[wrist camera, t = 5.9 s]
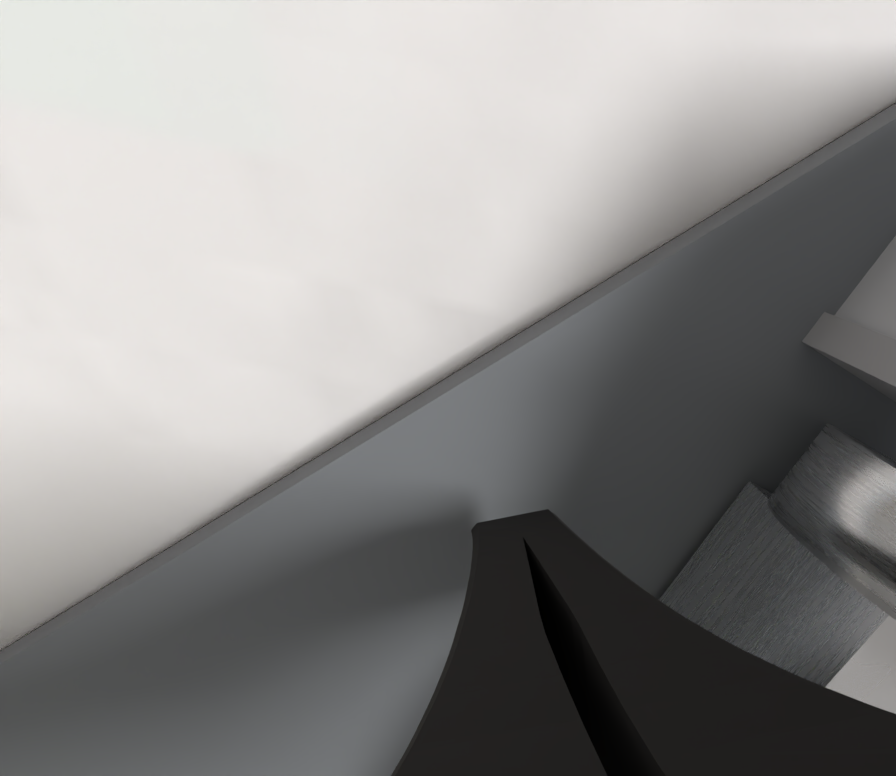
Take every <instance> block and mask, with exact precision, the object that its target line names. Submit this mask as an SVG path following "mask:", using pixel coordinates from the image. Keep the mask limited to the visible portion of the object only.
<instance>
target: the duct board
mask: <svg viewBox="0 0 896 776" xmlns="http://www.w3.org/2000/svg"><path fill="white" fill-rule="evenodd" d="M826 424H830V425H832V426H834V427H836V428H838V429H840V430H842V431H844V432H845V433H847V434H849V435H851V436H853V437H854V438H856V439H858V440H860V441H862V442H863V443H865V444H867V445H869V446H870V447H872V448H874V449H876V450H877V451H879V452H881V453H882V454H884V455H886V456H888V457H889V458H891V459H893V460H894V461H896V103H895V104H894V105H892V106H890V107H889V108H887V109H885V110H884V111H882V112H880V113H879V114H877V115H876V116H874V117H872V118H871V119H869V120H867V121H866V122H864V123H862V124H861V125H859V126H858V127H856V128H854V129H853V130H851V131H849V132H848V133H846V134H845V135H843V136H841V137H840V138H838V139H836V140H835V141H833V142H831V143H830V144H828V145H827V146H825V147H823V148H822V149H820V150H818V151H817V152H815V153H813V154H812V155H810V156H809V157H807V158H805V159H804V160H802V161H800V162H799V163H797V164H796V165H794V166H792V167H791V168H789V169H787V170H786V171H784V172H782V173H781V174H779V175H778V176H776V177H774V178H773V179H771V180H769V181H768V182H766V183H764V184H763V185H761V186H760V187H758V188H756V189H755V190H753V191H751V192H750V193H748V194H746V195H745V196H743V197H742V198H740V199H738V200H737V201H735V202H733V203H732V204H730V205H729V206H727V207H725V208H724V209H722V210H720V211H719V212H717V213H715V214H714V215H712V216H711V217H709V218H707V219H706V220H704V221H702V222H701V223H699V224H697V225H696V226H694V227H693V228H691V229H689V230H688V231H686V232H684V233H683V234H681V235H680V236H678V237H676V238H675V239H673V240H671V241H670V242H668V243H666V244H665V245H663V246H662V247H660V248H658V249H657V250H655V251H653V252H652V253H650V254H648V255H647V256H645V257H644V258H642V259H640V260H639V261H637V262H635V263H634V264H632V265H630V266H629V267H627V268H626V269H624V270H622V271H621V272H619V273H617V274H616V275H614V276H613V277H611V278H609V279H608V280H606V281H604V282H603V283H601V284H599V285H598V286H596V287H595V288H593V289H591V290H590V291H588V292H586V293H585V294H583V295H581V296H580V297H578V298H577V299H575V300H573V301H572V302H570V303H568V304H567V305H565V306H563V307H562V308H560V309H559V310H557V311H555V312H554V313H552V314H550V315H549V316H547V317H546V318H544V319H542V320H541V321H539V322H537V323H536V324H534V325H532V326H531V327H529V328H528V329H526V330H524V331H523V332H521V333H519V334H518V335H516V336H514V337H513V338H511V339H510V340H508V341H506V342H505V343H503V344H501V345H500V346H498V347H497V348H495V349H493V350H492V351H490V352H488V353H487V354H485V355H483V356H482V357H480V358H479V359H477V360H475V361H474V362H472V363H470V364H469V365H467V366H465V367H464V368H462V369H461V370H459V371H457V372H456V373H454V374H452V375H451V376H449V377H447V378H446V379H444V380H443V381H441V382H439V383H438V384H436V385H434V386H433V387H431V388H430V389H428V390H426V391H425V392H423V393H421V394H420V395H418V396H416V397H415V398H413V399H412V400H410V401H408V402H407V403H405V404H403V405H402V406H400V407H398V408H397V409H395V410H394V411H392V412H390V413H389V414H387V415H385V416H384V417H382V418H381V419H379V420H377V421H376V422H374V423H372V424H371V425H369V426H367V427H366V428H364V429H363V430H361V431H359V432H358V433H356V434H354V435H353V436H351V437H349V438H348V439H346V440H345V441H343V442H341V443H340V444H338V445H336V446H335V447H333V448H331V449H330V450H328V451H327V452H325V453H323V454H322V455H320V456H318V457H317V458H315V459H314V460H312V461H310V462H309V463H307V464H305V465H304V466H302V467H300V468H299V469H297V470H296V471H294V472H292V473H291V474H289V475H287V476H286V477H284V478H282V479H281V480H279V481H278V482H276V483H274V484H273V485H271V486H269V487H268V488H266V489H264V490H263V491H261V492H260V493H258V494H256V495H255V496H253V497H251V498H250V499H248V500H247V501H245V502H243V503H242V504H240V505H238V506H237V507H235V508H233V509H232V510H230V511H229V512H227V513H225V514H224V515H222V516H220V517H219V518H217V519H215V520H214V521H212V522H211V523H209V524H207V525H206V526H204V527H202V528H201V529H199V530H198V531H196V532H194V533H193V534H191V535H189V536H188V537H186V538H184V539H183V540H181V541H180V542H178V543H176V544H175V545H173V546H171V547H170V548H168V549H166V550H165V551H163V552H162V553H160V554H158V555H157V556H155V557H153V558H152V559H150V560H148V561H147V562H145V563H144V564H142V565H140V566H139V567H137V568H135V569H134V570H132V571H131V572H129V573H127V574H126V575H124V576H122V577H121V578H119V579H117V580H116V581H114V582H113V583H111V584H109V585H108V586H106V587H104V588H103V589H101V590H99V591H98V592H96V593H95V594H93V595H91V596H90V597H88V598H86V599H85V600H83V601H82V602H80V603H78V604H77V605H75V606H73V607H72V608H70V609H68V610H67V611H65V612H64V613H62V614H60V615H59V616H57V617H55V618H54V619H52V620H50V621H49V622H47V623H46V624H44V625H42V626H41V627H39V628H37V629H36V630H34V631H32V632H31V633H29V634H28V635H26V636H24V637H23V638H21V639H19V640H18V641H16V642H15V643H13V644H11V645H10V646H8V647H6V648H5V649H3V650H1V651H0V776H391V775H392V773H393V771H394V770H395V768H396V766H397V765H398V763H399V761H400V760H401V758H402V756H403V754H404V753H405V751H406V749H407V747H408V745H409V743H410V741H411V739H412V737H413V736H414V734H415V732H416V730H417V728H418V725H419V723H420V721H421V719H422V717H423V715H424V713H425V711H426V709H427V706H428V704H429V702H430V700H431V698H432V696H433V693H434V691H435V689H436V686H437V684H438V681H439V679H440V676H441V674H442V671H443V669H444V666H445V663H446V661H447V658H448V655H449V652H450V649H451V646H452V643H453V640H454V636H455V633H456V630H457V626H458V623H459V619H460V616H461V613H462V609H463V605H464V601H465V596H466V591H467V586H468V581H469V576H470V569H471V561H472V551H473V538H472V532H471V530H472V528H473V527H474V526H475V525H476V523H479V522H484V521H489V520H494V519H500V518H505V517H510V516H515V515H520V514H525V513H530V512H535V511H540V510H546V509H548V510H550V511H551V512H553V513H554V514H555V515H556V516H557V517H558V518H560V519H561V520H562V521H563V522H564V523H565V524H566V525H567V526H568V527H569V528H570V529H571V530H572V531H573V532H574V533H575V534H577V535H578V536H579V537H580V538H581V539H582V540H583V541H584V542H585V543H587V544H588V545H589V546H590V547H591V548H592V549H593V550H595V551H596V552H597V553H598V554H599V555H601V556H602V557H603V558H604V559H605V560H607V561H608V562H609V563H610V564H612V565H613V566H614V567H615V568H617V569H618V570H619V571H620V572H622V573H623V574H624V575H625V576H627V577H628V578H629V579H631V580H632V581H633V582H635V583H636V584H637V585H639V586H640V587H641V588H643V589H644V590H645V591H647V592H648V593H650V594H651V595H653V596H654V597H655V598H657V599H658V600H659V599H660V597H661V596H662V595H663V593H664V592H665V591H666V590H667V588H668V587H669V586H670V584H671V583H672V582H673V580H674V579H675V578H676V576H677V575H678V574H679V572H680V571H681V570H682V569H683V567H684V566H685V565H686V563H687V562H688V561H689V559H690V558H691V557H692V555H693V554H694V553H695V551H696V550H697V549H698V547H699V546H700V545H701V544H702V542H703V541H704V540H705V538H706V537H707V536H708V534H709V533H710V532H711V530H712V529H713V528H714V526H715V525H716V524H717V522H718V521H719V520H720V519H721V517H722V516H723V515H724V513H725V512H726V511H727V509H728V508H729V507H730V505H731V504H732V503H733V501H734V500H735V499H736V498H737V496H738V495H739V494H740V492H741V491H742V490H743V488H744V487H745V486H746V484H747V483H748V482H749V481H750V482H752V483H754V484H756V485H757V486H759V487H761V488H763V489H765V490H767V491H769V492H771V493H773V492H774V491H775V490H776V489H777V487H778V486H779V485H780V483H781V482H782V481H783V480H784V478H785V477H786V476H787V474H788V473H789V472H790V471H791V469H792V468H793V467H794V465H795V464H796V463H797V462H798V460H799V459H800V458H801V456H802V455H803V454H804V453H805V451H806V450H807V449H808V447H809V446H810V445H811V444H812V442H813V441H814V440H815V438H816V437H817V436H818V435H819V433H820V432H821V431H822V429H823V428H824V427H825V426H826Z"/></svg>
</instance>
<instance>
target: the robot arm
mask: <svg viewBox="0 0 896 776" xmlns="http://www.w3.org/2000/svg"><path fill="white" fill-rule="evenodd" d="M471 532H472V538H473V551H472V561H471V569H470V576H469V581H468V586H467V591H466V596H465V601H464V605H463V609H462V613H461V616H460V619H459V623H458V626H457V630H456V633H455V636H454V640H453V643H452V646H451V649H450V652H449V655H448V658H447V661H446V663H445V666H444V669H443V671H442V674H441V676H440V679H439V681H438V684H437V686H436V689H435V691H434V693H433V696H432V698H431V700H430V702H429V704H428V706H427V709H426V711H425V713H424V715H423V717H422V719H421V721H420V723H419V725H418V728H417V730H416V732H415V734H414V736H413V737H412V739H411V741H410V743H409V745H408V747H407V749H406V751H405V753H404V754H403V756H402V758H401V760H400V761H399V763H398V765H397V766H396V768H395V770H394V771H393V773H392V775H391V776H896V714H895V713H892V712H888V711H886V710H883V709H880V708H877V707H875V706H872V705H869V704H867V703H864V702H862V701H859V700H856V699H854V698H851V697H849V696H846V695H844V694H841V693H838V692H836V691H833V690H831V689H828V688H826V687H823V686H821V685H818V684H816V683H814V682H811V681H809V680H807V679H804V678H802V677H800V676H797V675H795V674H793V673H791V672H788V671H786V670H784V669H782V668H780V667H778V666H776V665H774V664H771V663H769V662H767V661H765V660H763V659H761V658H759V657H757V656H755V655H753V654H751V653H749V652H746V651H744V650H742V649H741V648H739V647H737V646H735V645H733V644H731V643H729V642H727V641H725V640H723V639H722V638H720V637H718V636H716V635H715V634H713V633H711V632H709V631H708V630H706V629H704V628H702V627H701V626H699V625H697V624H696V623H694V622H692V621H690V620H689V619H687V618H685V617H684V616H682V615H681V614H679V613H678V612H676V611H674V610H673V609H671V608H670V607H668V606H667V605H665V604H664V603H663V602H661V601H660V600H658V599H657V598H655V597H654V596H653V595H651V594H650V593H648V592H647V591H645V590H644V589H643V588H641V587H640V586H639V585H637V584H636V583H635V582H633V581H632V580H631V579H629V578H628V577H627V576H625V575H624V574H623V573H622V572H620V571H619V570H618V569H617V568H615V567H614V566H613V565H612V564H610V563H609V562H608V561H607V560H605V559H604V558H603V557H602V556H601V555H599V554H598V553H597V552H596V551H595V550H593V549H592V548H591V547H590V546H589V545H588V544H587V543H585V542H584V541H583V540H582V539H581V538H580V537H579V536H578V535H577V534H575V533H574V532H573V531H572V530H571V529H570V528H569V527H568V526H567V525H566V524H565V523H564V522H563V521H562V520H561V519H560V518H558V517H557V516H556V515H555V514H554V513H553V512H551V511H550V510H548V509H546V510H540V511H535V512H530V513H525V514H520V515H515V516H510V517H505V518H500V519H494V520H489V521H484V522H479V523H476V525H475V526H474V527H473V528H472V530H471Z"/></svg>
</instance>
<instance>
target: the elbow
mask: <svg viewBox="0 0 896 776" xmlns="http://www.w3.org/2000/svg"><path fill="white" fill-rule="evenodd" d="M659 600H660V601H661V602H663V603H664V604H665V605H667V606H668V607H670V608H671V609H673V610H674V611H676V612H678V613H679V614H681V615H682V616H684V617H685V618H687V619H689V620H690V621H692V622H694V623H696V624H697V625H699V626H701V627H702V628H704V629H706V630H708V631H709V632H711V633H713V634H715V635H716V636H718V637H720V638H722V639H723V640H725V641H727V642H729V643H731V644H733V645H735V646H737V647H739V648H741V649H742V650H744V651H746V652H749V653H751V654H753V655H755V656H757V657H759V658H761V659H763V660H765V661H767V662H769V663H771V664H774V665H776V666H778V667H780V668H782V669H784V670H786V671H788V672H791V673H793V674H795V675H797V676H800V677H802V678H804V679H807V680H809V681H811V682H814V683H816V684H818V685H821V686H823V687H826V688H828V689H831V690H833V691H836V692H838V693H841V694H844V695H846V696H849V697H851V698H854V699H856V700H859V701H862V702H864V703H867V704H869V705H872V706H875V707H877V708H880V709H883V710H886V711H888V712H892V713H895V714H896V461H894V460H893V459H891V458H889V457H888V456H886V455H884V454H882V453H881V452H879V451H877V450H876V449H874V448H872V447H870V446H869V445H867V444H865V443H863V442H862V441H860V440H858V439H856V438H854V437H853V436H851V435H849V434H847V433H845V432H844V431H842V430H840V429H838V428H836V427H834V426H832V425H830V424H826V426H825V427H824V428H823V429H822V431H821V432H820V433H819V435H818V436H817V437H816V438H815V440H814V441H813V442H812V444H811V445H810V446H809V447H808V449H807V450H806V451H805V453H804V454H803V455H802V456H801V458H800V459H799V460H798V462H797V463H796V464H795V465H794V467H793V468H792V469H791V471H790V472H789V473H788V474H787V476H786V477H785V478H784V480H783V481H782V482H781V483H780V485H779V486H778V487H777V489H776V490H775V491H774V492H773V493H771V492H769V491H767V490H765V489H763V488H761V487H759V486H757V485H756V484H754V483H752V482H750V481H749V482H748V483H747V484H746V486H745V487H744V488H743V490H742V491H741V492H740V494H739V495H738V496H737V498H736V499H735V500H734V501H733V503H732V504H731V505H730V507H729V508H728V509H727V511H726V512H725V513H724V515H723V516H722V517H721V519H720V520H719V521H718V522H717V524H716V525H715V526H714V528H713V529H712V530H711V532H710V533H709V534H708V536H707V537H706V538H705V540H704V541H703V542H702V544H701V545H700V546H699V547H698V549H697V550H696V551H695V553H694V554H693V555H692V557H691V558H690V559H689V561H688V562H687V563H686V565H685V566H684V567H683V569H682V570H681V571H680V572H679V574H678V575H677V576H676V578H675V579H674V580H673V582H672V583H671V584H670V586H669V587H668V588H667V590H666V591H665V592H664V593H663V595H662V596H661V597H660V599H659Z"/></svg>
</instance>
